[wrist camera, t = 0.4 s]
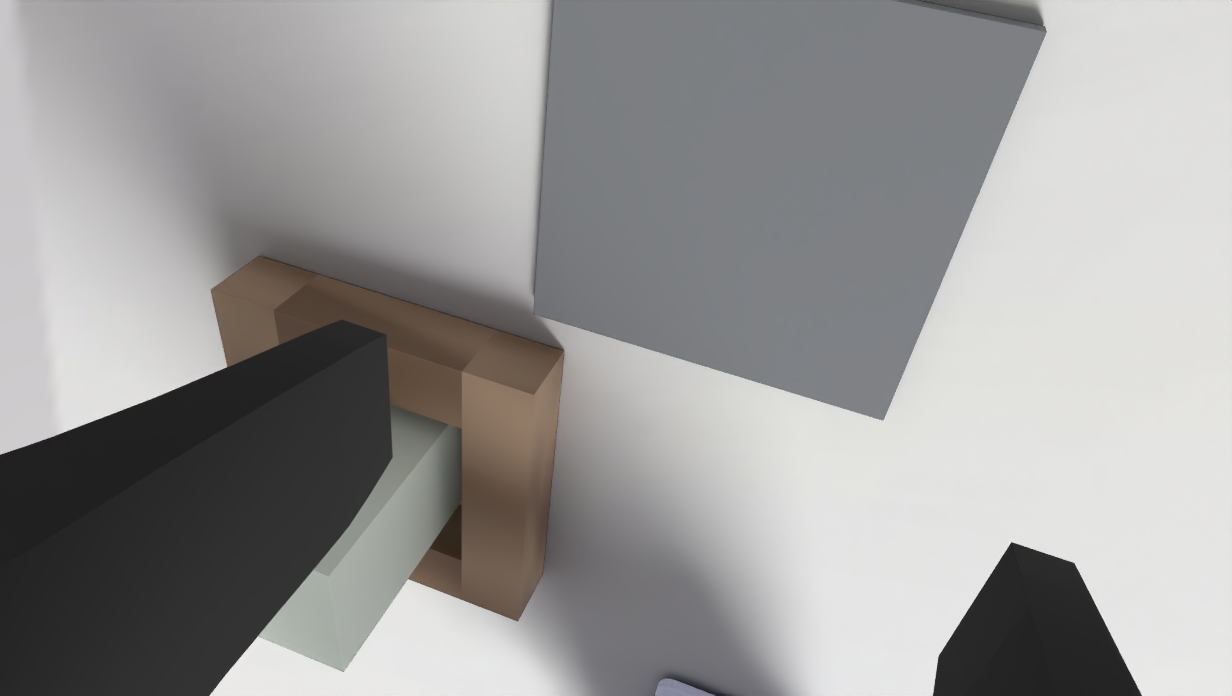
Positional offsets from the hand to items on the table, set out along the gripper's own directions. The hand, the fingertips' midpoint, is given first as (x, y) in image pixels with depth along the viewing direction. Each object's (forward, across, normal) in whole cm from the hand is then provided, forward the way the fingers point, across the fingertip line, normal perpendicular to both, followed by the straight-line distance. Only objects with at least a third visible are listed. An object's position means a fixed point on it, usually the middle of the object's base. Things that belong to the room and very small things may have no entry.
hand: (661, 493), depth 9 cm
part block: (+10, +9, +12) cm, 18 cm away
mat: (+10, +1, +1) cm, 10 cm away
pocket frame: (+10, +9, +12) cm, 18 cm away
